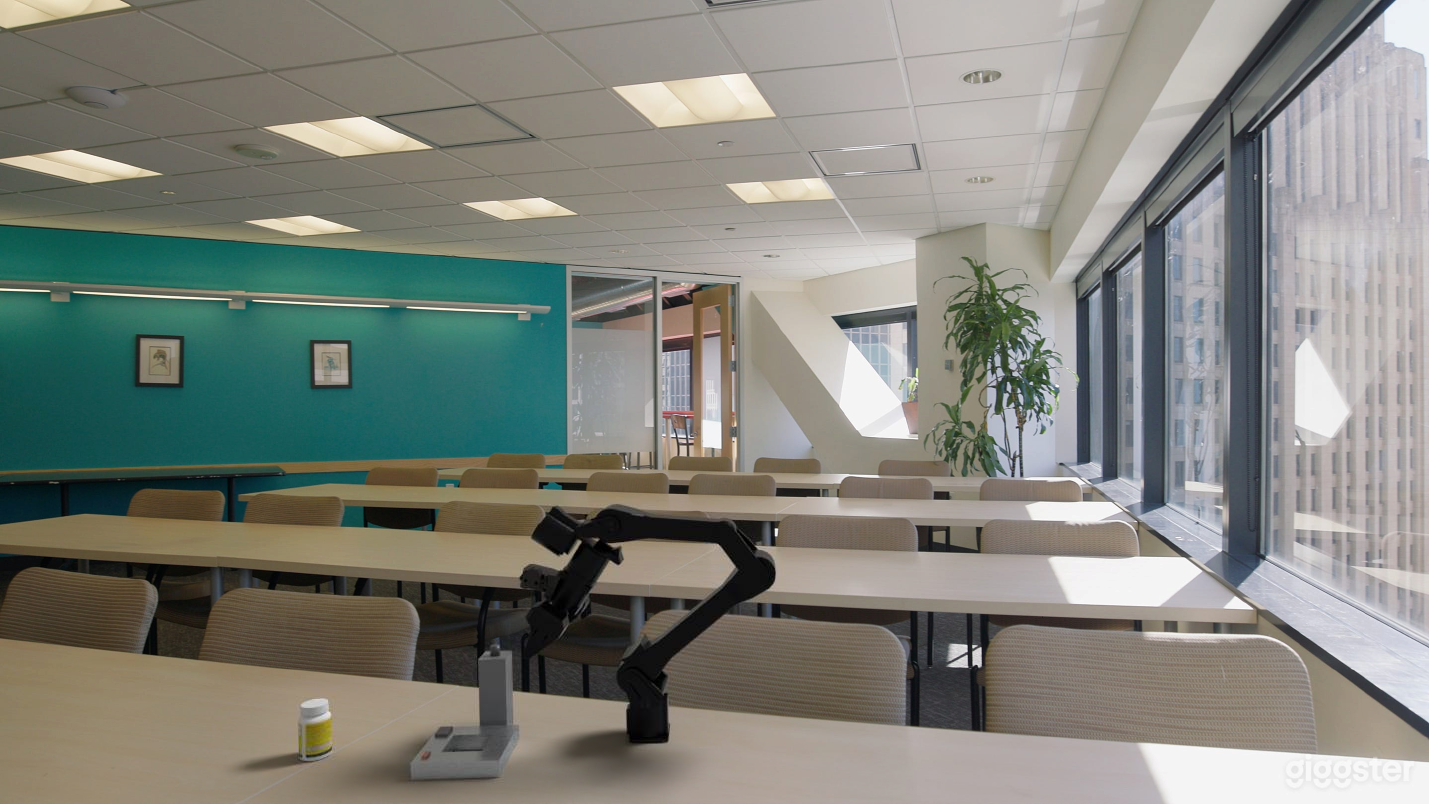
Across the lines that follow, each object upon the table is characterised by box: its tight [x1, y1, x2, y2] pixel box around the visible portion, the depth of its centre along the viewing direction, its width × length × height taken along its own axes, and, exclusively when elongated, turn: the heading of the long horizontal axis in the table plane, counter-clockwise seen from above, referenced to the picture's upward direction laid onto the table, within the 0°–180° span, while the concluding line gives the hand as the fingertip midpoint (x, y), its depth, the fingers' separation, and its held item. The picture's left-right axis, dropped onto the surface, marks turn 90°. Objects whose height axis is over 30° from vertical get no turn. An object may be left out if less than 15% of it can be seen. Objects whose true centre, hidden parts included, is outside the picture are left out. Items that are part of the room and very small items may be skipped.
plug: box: [477, 643, 514, 726], centre depth 134 cm, size 4×4×15 cm
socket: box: [410, 724, 520, 781], centre depth 124 cm, size 13×13×3 cm
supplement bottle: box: [297, 698, 333, 762], centre depth 126 cm, size 5×5×8 cm
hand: (533, 649), depth 133 cm, fingers open, 9 cm apart
